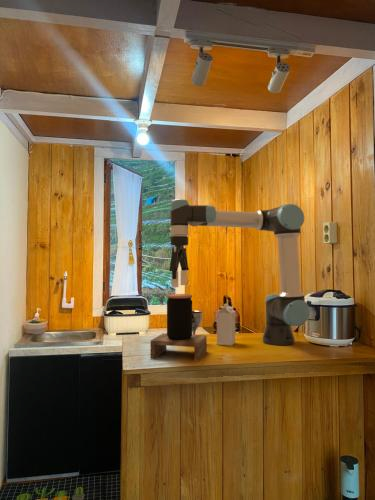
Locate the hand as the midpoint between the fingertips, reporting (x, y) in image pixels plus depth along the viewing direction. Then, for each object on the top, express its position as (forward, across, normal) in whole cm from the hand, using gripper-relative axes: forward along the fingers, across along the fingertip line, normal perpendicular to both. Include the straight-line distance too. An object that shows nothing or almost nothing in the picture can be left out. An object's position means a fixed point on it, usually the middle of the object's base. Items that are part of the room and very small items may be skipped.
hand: (179, 286), depth 157 cm
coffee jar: (+22, 0, 0) cm, 22 cm away
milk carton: (+29, -25, +16) cm, 41 cm away
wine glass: (+29, -22, +1) cm, 36 cm away
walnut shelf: (+29, 0, 0) cm, 29 cm away
